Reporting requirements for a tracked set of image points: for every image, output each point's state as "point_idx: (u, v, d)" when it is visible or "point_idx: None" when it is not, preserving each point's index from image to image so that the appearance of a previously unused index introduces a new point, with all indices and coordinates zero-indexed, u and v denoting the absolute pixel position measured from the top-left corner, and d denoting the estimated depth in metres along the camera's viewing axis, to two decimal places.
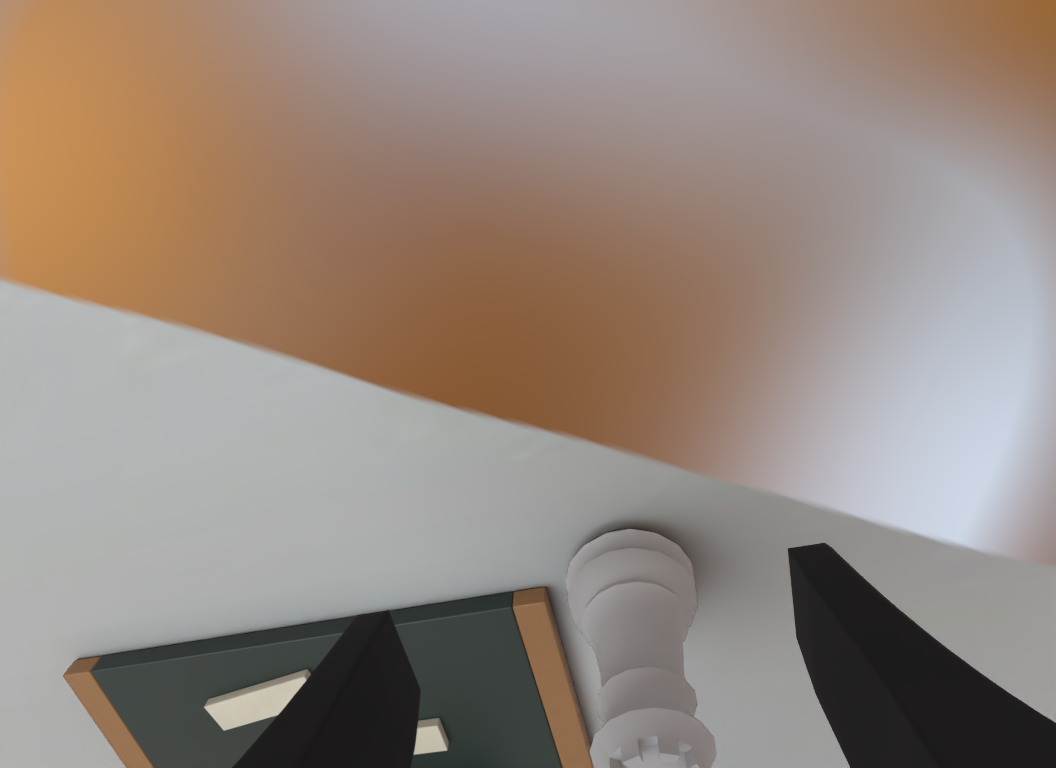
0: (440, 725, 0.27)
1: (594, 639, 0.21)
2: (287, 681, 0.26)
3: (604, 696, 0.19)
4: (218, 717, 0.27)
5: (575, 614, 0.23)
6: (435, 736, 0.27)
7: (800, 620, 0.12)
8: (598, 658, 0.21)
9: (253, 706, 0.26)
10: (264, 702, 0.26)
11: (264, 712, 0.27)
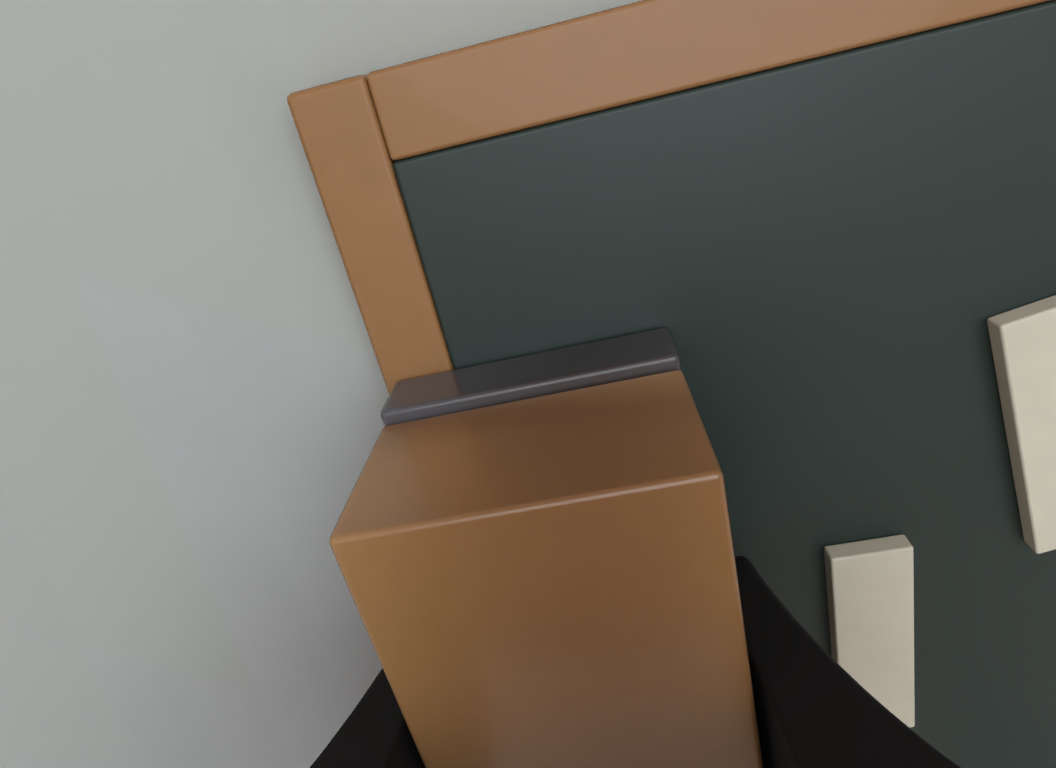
0: None
1: None
2: None
3: None
4: (1054, 323, 0.10)
5: None
6: None
7: None
8: None
9: None
10: None
11: (1041, 433, 0.11)
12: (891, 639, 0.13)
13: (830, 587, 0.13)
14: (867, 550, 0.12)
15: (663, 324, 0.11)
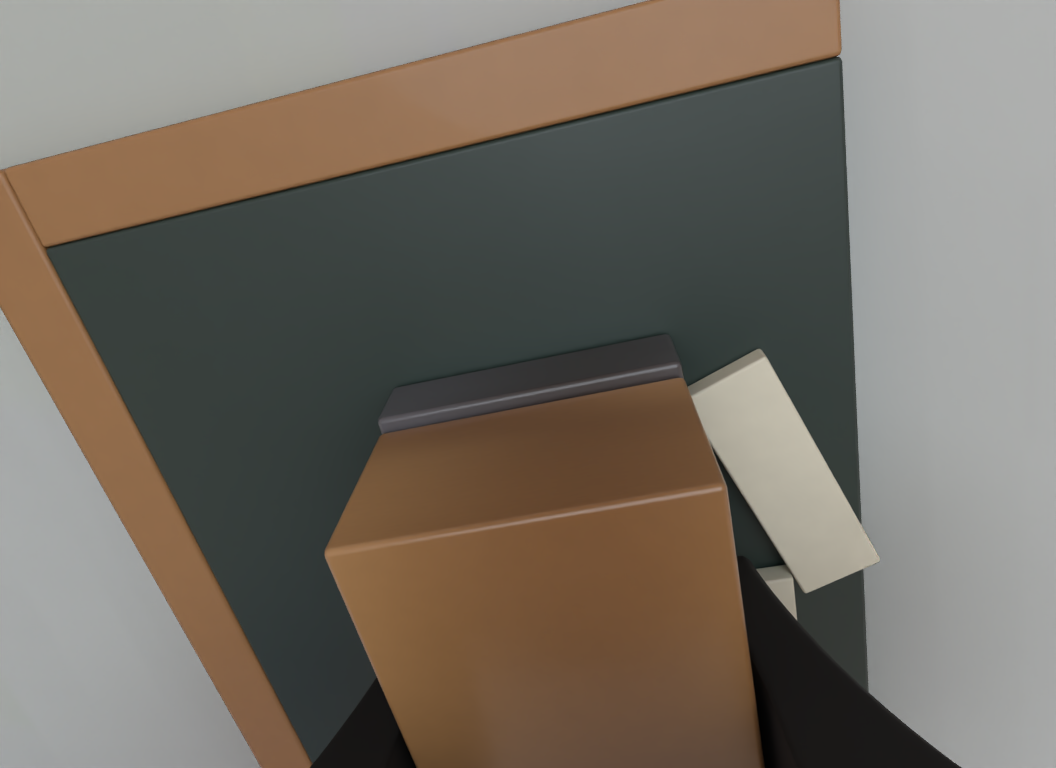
0: None
1: None
2: (863, 530, 0.12)
3: None
4: (732, 390, 0.11)
5: None
6: None
7: None
8: None
9: (780, 466, 0.11)
10: (794, 488, 0.11)
11: (762, 487, 0.11)
12: None
13: None
14: None
15: (327, 397, 0.11)
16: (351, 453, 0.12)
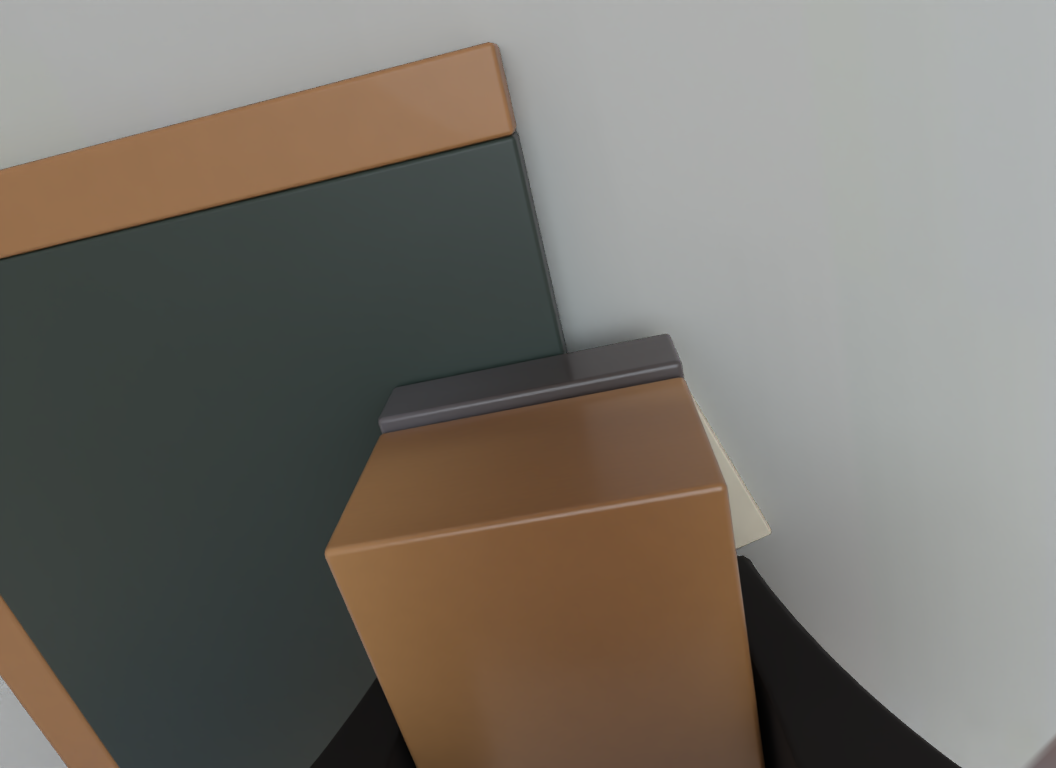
0: None
1: None
2: (754, 504, 0.13)
3: None
4: None
5: None
6: None
7: None
8: None
9: None
10: None
11: None
12: None
13: None
14: None
15: (89, 444, 0.12)
16: (120, 496, 0.12)
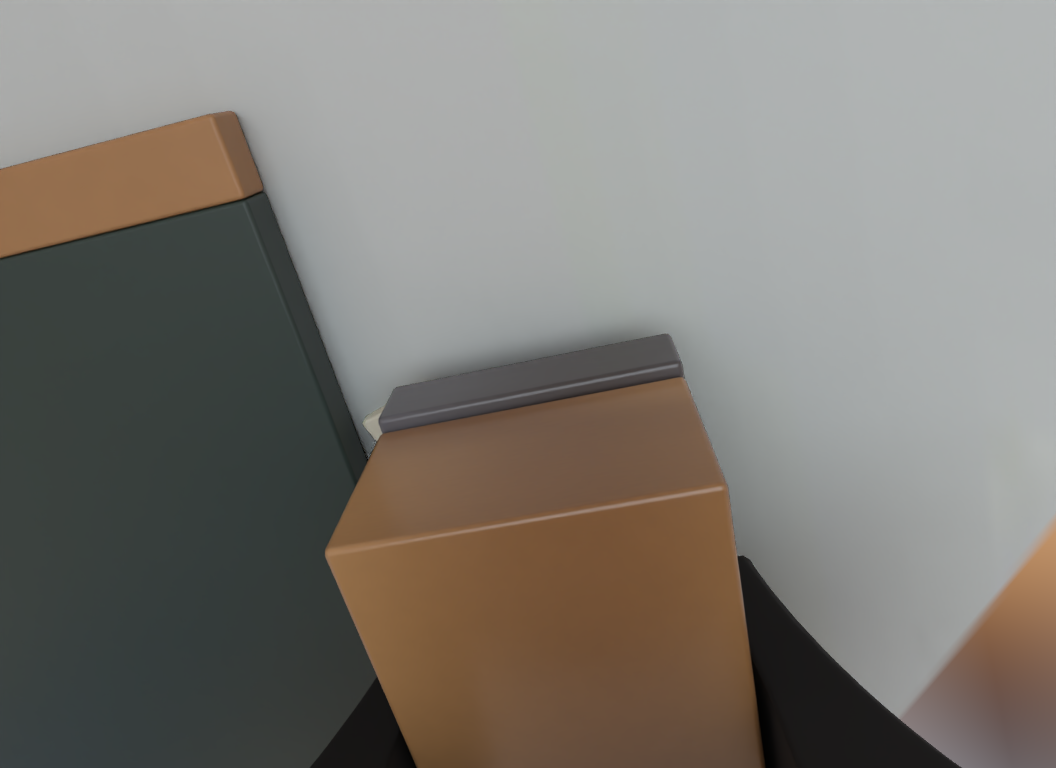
0: None
1: None
2: None
3: None
4: None
5: None
6: None
7: None
8: None
9: None
10: None
11: None
12: None
13: None
14: None
15: None
16: None
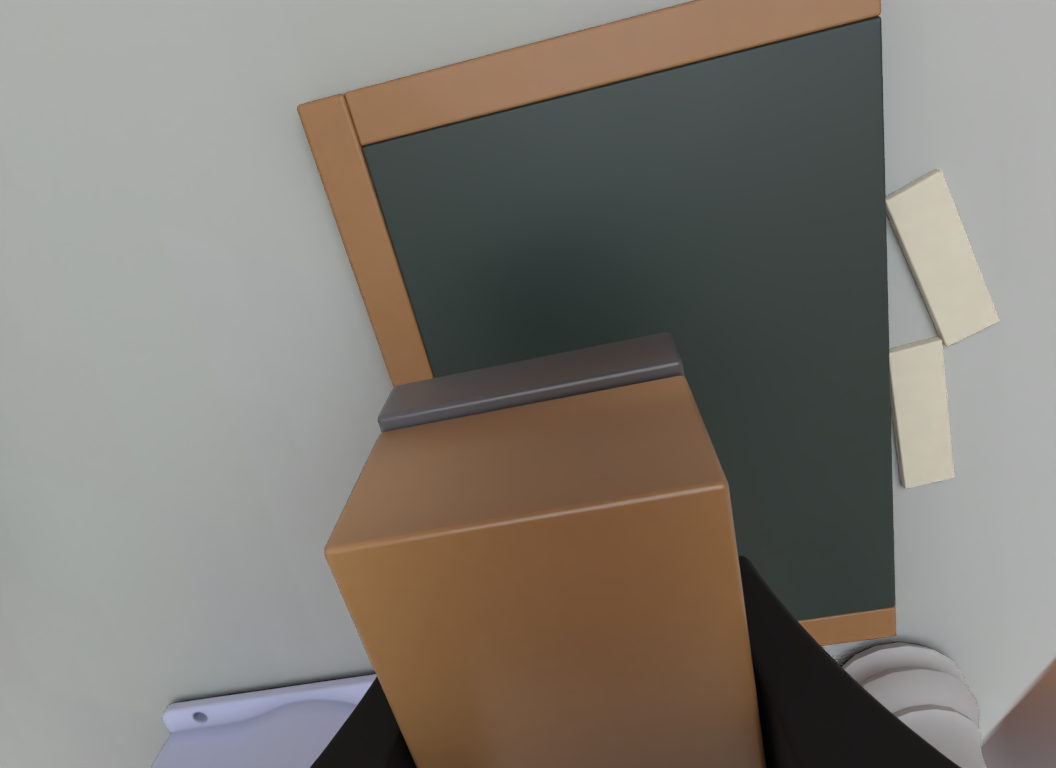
0: None
1: (951, 742, 0.20)
2: (990, 297, 0.18)
3: None
4: (917, 193, 0.17)
5: (922, 689, 0.21)
6: (936, 475, 0.20)
7: None
8: (961, 766, 0.20)
9: (941, 249, 0.17)
10: (949, 265, 0.18)
11: (928, 264, 0.18)
12: (933, 410, 0.19)
13: None
14: (911, 345, 0.19)
15: (534, 249, 0.17)
16: (545, 290, 0.18)
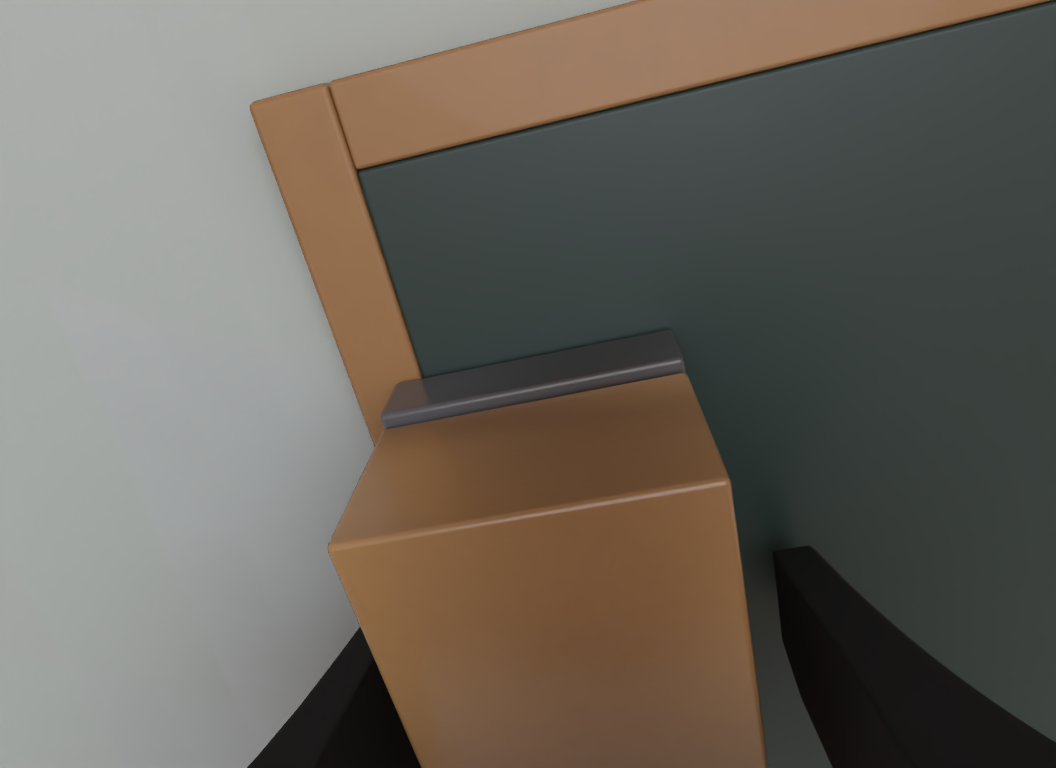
0: None
1: None
2: None
3: None
4: None
5: None
6: None
7: (785, 622, 0.12)
8: None
9: None
10: None
11: None
12: None
13: None
14: None
15: (633, 334, 0.11)
16: None
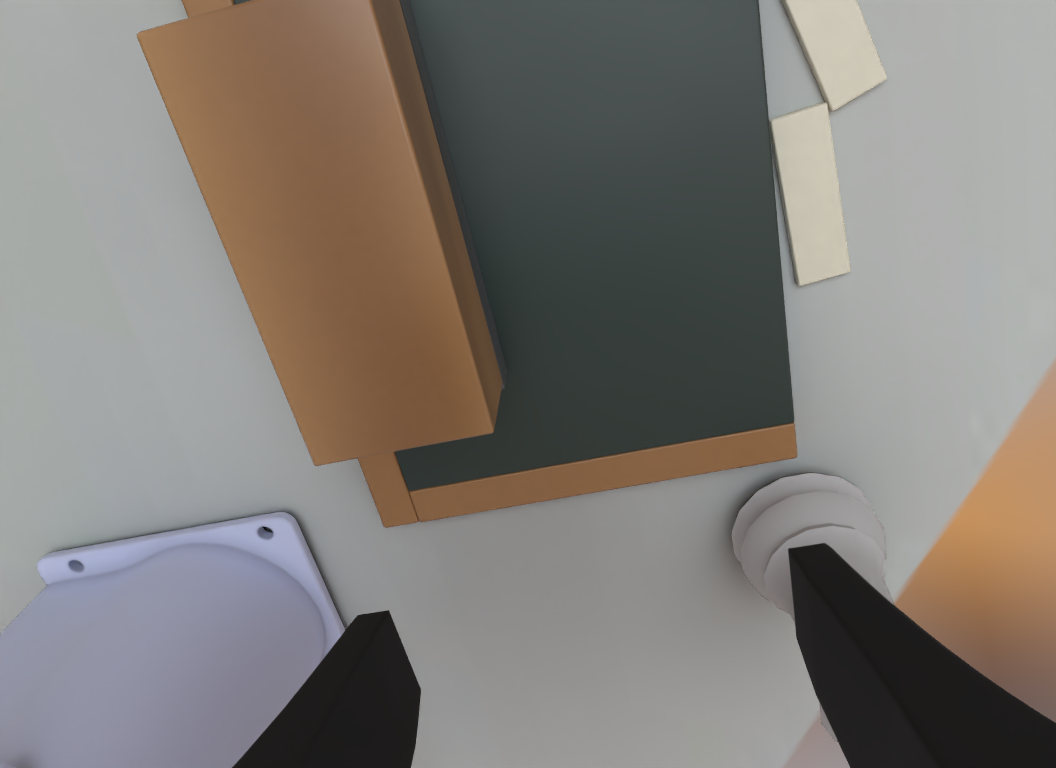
0: None
1: (848, 555, 0.19)
2: None
3: None
4: None
5: (822, 508, 0.20)
6: (831, 269, 0.19)
7: (800, 620, 0.12)
8: None
9: None
10: (829, 10, 0.16)
11: (807, 9, 0.16)
12: (822, 189, 0.18)
13: (774, 149, 0.18)
14: (796, 111, 0.17)
15: None
16: None
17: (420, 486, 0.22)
